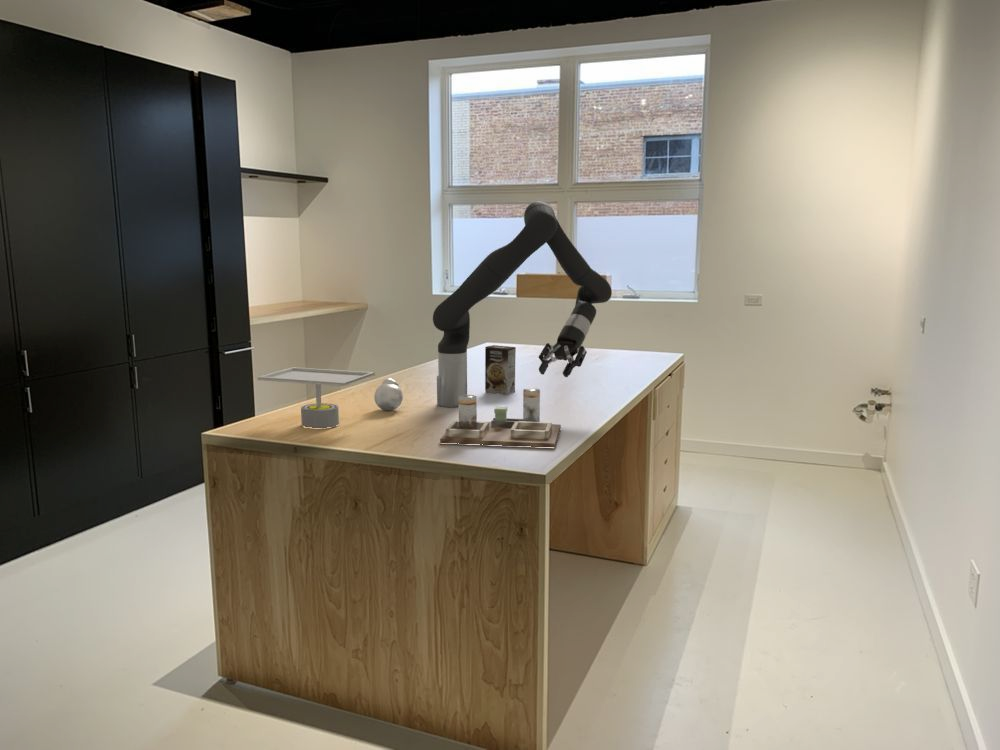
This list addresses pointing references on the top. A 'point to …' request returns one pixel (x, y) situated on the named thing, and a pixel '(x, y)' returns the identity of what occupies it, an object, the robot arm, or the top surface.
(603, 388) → the top surface
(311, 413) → the solar panel model
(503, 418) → the green notched block
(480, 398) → the top surface
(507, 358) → the coffee box
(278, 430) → the top surface
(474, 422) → the seated billet
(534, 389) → the cylinder
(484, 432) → the pallet
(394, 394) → the grey rounded lump
